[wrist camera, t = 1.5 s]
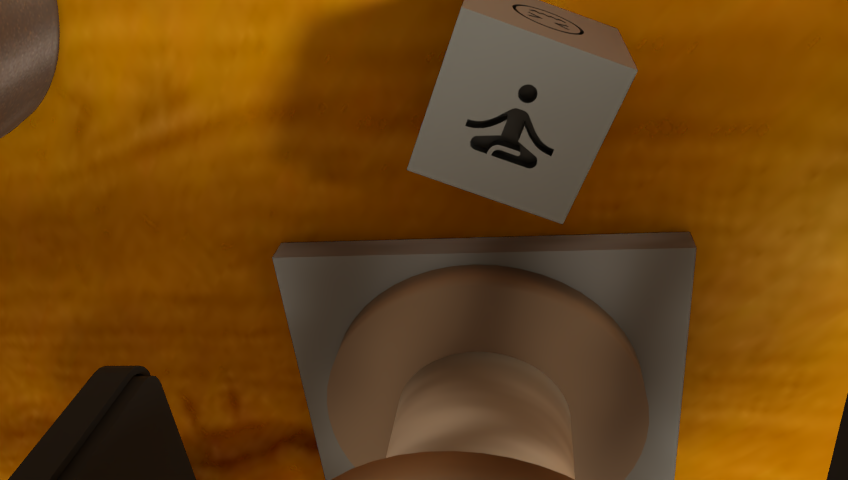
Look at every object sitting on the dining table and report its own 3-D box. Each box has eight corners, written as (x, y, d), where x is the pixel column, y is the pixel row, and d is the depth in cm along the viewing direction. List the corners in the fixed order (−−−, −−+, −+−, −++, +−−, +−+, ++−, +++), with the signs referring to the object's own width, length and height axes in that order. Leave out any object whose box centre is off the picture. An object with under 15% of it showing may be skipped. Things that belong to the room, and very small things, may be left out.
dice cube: (427, 114, 25) (406, 170, 21) (474, -24, 23) (461, 6, 18) (556, 160, 25) (562, 224, 21) (617, 28, 23) (637, 70, 19)
